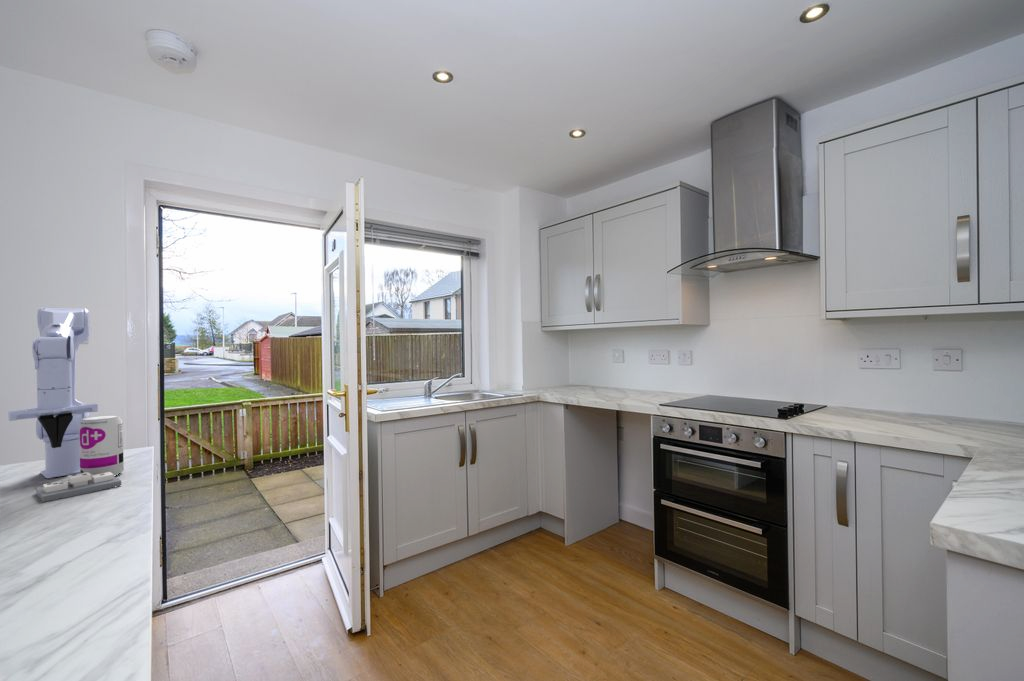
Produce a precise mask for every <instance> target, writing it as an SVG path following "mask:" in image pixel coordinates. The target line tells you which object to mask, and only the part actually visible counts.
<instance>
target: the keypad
mask: <svg viewBox="0 0 1024 681" xmlns="http://www.w3.org/2000/svg"><path fill="white" fill-rule="evenodd" d="M66 482H67V483H68V489H63V490H58V491H53V492H48V493H46V492H45V491H44V490H43V486H42V487H37V488H36V489H35V492H36V493H35V494H36V496H37V497H39V499H40V498H41V499H40V500H41V501H42V503H46V502H45V501H47V502H51V501H54V499H56V500H60V499H59V498H61V499H64V498H65V497H66V498H70V497H74V496H75V497H76V496H78V495H85V494H88V493H94V492H98V490H99V491H102V489H104V490H106V489H107V488H108V489H111V488H110V487H113V488H116V487H115V486H118V487H121V486H122V480H120V478H118V477H117V476H114V479H113V480H108V481H103V482H98V483H94V482H92V481H91V480H88V484H87V485H82V486H77V487H72V486H71V483H70V482H68V481H66ZM120 485H121V486H120ZM69 496H70V497H69ZM50 500H51V501H50Z"/></svg>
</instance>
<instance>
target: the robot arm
mask: <svg viewBox="0 0 1024 681" xmlns="http://www.w3.org/2000/svg"><path fill="white" fill-rule="evenodd" d="M36 314H37V316H36V318H37V328H38V330H39V337H38V339H35V338H34V339H33V340H32V346H31V348H32V357H33V362H34V369H35V370H36V396H37V397H36V400H37V401H36V404H37V407H36V408H28V409H20V410H19V409H18V410H10V411H8V421H9V422H12V421H13V422H14V421H18V420H27V419H36V422H35V425H36V426H35V433H36V438H37V439H39V440H41V441H42V440H43V443H44V457H45V458H44V460H45V462H44V463H45V464H44V465H45V466H44V468H45V469H42V470H40V471H39V473H40V474H41V475H42V476H43V477H45V478H46V479H52V478H56V477H57V478H59V477H63V476H68V475H74V474H79V473H80V444H79V425H80V423H81V422H82V419H83V418H87V417H91V414H90V413H97V412H99V405H98V403H97V402H93V403H84V402H81V401H79V400H77V399H76V396H77V394H76V393H77V391H76V390H77V352H78V349H79V347H80V345H81V343H85V342H87V341H88V339H89V337H90V312H89V310H88V309H87V308H86V307H83V308H61V307H60V308H57V307H54V308H53V307H41V306H40V308H39V309H38V310H37V313H36Z"/></svg>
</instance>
